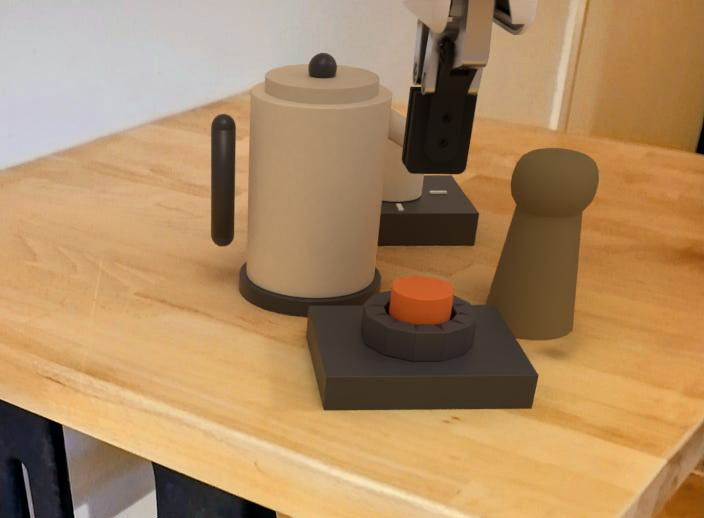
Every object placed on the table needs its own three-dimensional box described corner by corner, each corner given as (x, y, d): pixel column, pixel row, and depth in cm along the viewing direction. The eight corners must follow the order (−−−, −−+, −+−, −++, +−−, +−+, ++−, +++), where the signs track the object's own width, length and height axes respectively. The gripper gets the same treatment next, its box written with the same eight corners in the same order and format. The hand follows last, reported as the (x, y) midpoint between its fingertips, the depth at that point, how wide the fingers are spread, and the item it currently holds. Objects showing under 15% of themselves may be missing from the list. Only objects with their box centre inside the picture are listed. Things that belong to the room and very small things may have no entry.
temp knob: (358, 183, 84) (364, 116, 81) (415, 183, 85) (423, 116, 81) (366, 202, 81) (372, 131, 77) (426, 202, 81) (435, 132, 78)
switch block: (489, 336, 67) (499, 277, 64) (531, 409, 58) (545, 345, 56) (306, 337, 66) (309, 278, 64) (323, 411, 58) (328, 346, 56)
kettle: (401, 263, 77) (427, 38, 68) (427, 317, 69) (461, 70, 60) (209, 264, 76) (209, 37, 67) (212, 319, 68) (213, 69, 59)
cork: (500, 344, 66) (532, 168, 59) (468, 307, 70) (494, 140, 64) (588, 338, 66) (630, 164, 60) (550, 302, 71) (585, 137, 65)
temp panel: (447, 204, 88) (452, 173, 87) (474, 245, 80) (479, 211, 79) (309, 204, 88) (311, 173, 86) (322, 245, 80) (325, 211, 78)
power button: (443, 303, 62) (447, 275, 61) (456, 328, 59) (460, 299, 58) (384, 303, 62) (387, 275, 60) (394, 328, 59) (397, 299, 58)
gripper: (640, -274, 38) (540, 215, 49) (530, -254, 50) (469, 135, 61) (443, -280, 38) (386, 213, 49) (380, -259, 50) (345, 133, 61)
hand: (432, 169), depth 55 cm, fingers closed
